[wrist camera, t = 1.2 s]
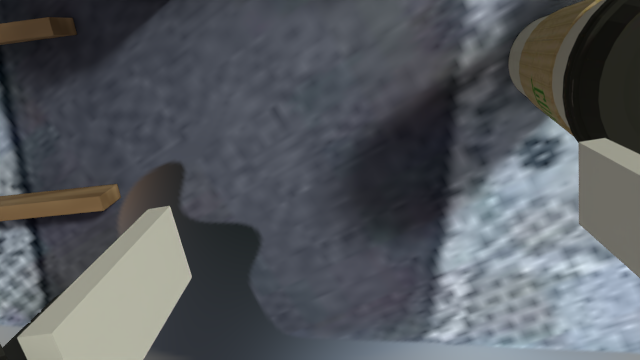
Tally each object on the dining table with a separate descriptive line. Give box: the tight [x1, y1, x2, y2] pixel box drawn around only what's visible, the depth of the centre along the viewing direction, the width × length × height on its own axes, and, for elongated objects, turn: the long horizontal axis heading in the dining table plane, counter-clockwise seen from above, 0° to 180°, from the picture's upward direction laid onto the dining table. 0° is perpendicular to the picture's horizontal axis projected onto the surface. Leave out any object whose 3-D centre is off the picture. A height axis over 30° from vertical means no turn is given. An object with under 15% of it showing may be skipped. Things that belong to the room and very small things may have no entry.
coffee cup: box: [508, 0, 640, 154], centre depth 27 cm, size 10×10×15 cm
